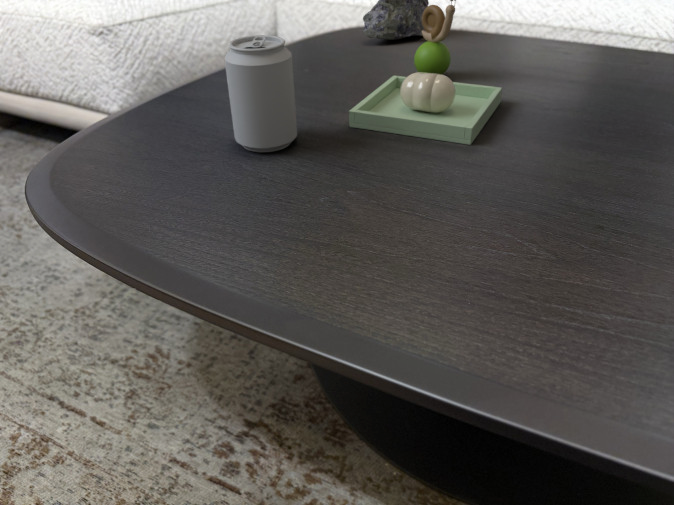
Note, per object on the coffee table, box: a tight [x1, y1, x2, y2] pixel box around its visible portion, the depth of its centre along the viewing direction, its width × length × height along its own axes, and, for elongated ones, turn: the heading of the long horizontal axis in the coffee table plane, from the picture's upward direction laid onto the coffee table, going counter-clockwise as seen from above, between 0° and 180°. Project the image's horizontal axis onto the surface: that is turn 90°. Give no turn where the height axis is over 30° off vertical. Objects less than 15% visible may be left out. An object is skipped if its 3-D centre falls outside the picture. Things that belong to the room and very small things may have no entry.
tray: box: [348, 74, 503, 146], centre depth 78 cm, size 16×16×2 cm
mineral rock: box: [362, 0, 430, 41], centre depth 110 cm, size 13×11×10 cm
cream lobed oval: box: [400, 71, 456, 113], centre depth 77 cm, size 7×5×5 cm, turn 65°
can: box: [224, 34, 298, 153], centre depth 69 cm, size 8×8×12 cm
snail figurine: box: [413, 0, 457, 75], centre depth 88 cm, size 5×6×12 cm
